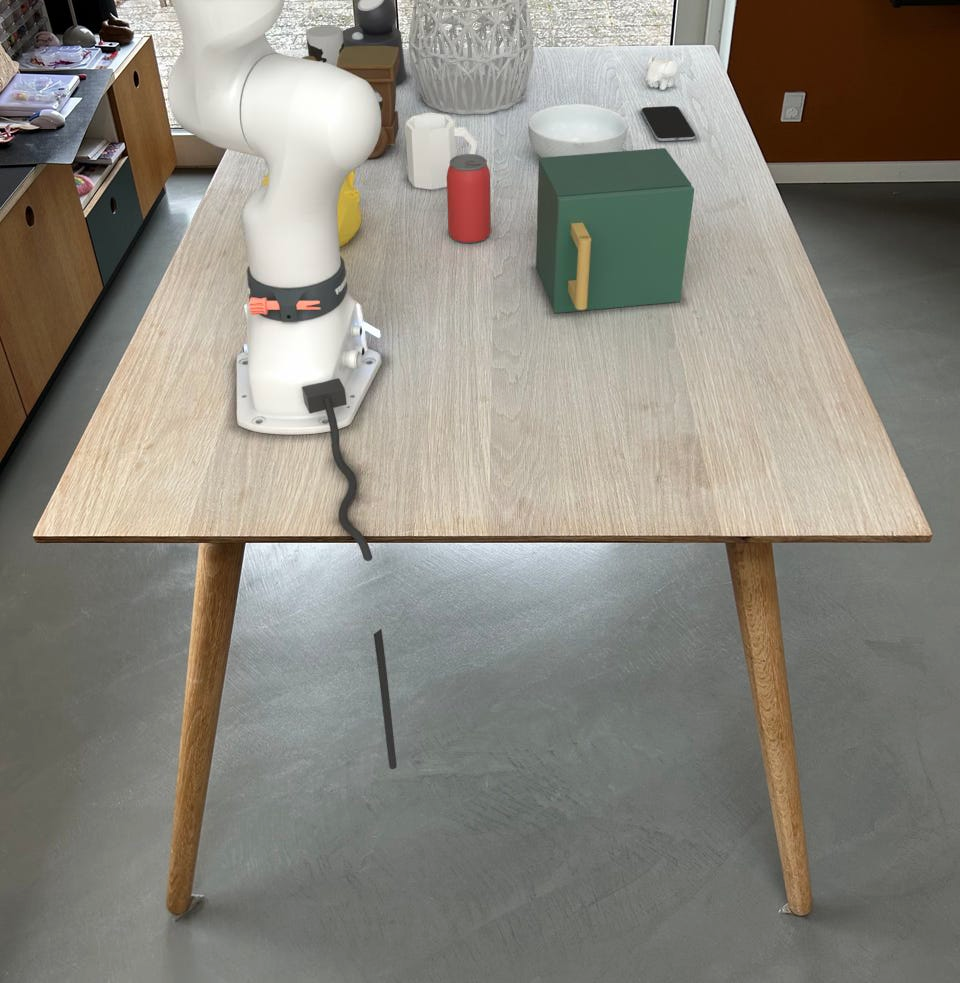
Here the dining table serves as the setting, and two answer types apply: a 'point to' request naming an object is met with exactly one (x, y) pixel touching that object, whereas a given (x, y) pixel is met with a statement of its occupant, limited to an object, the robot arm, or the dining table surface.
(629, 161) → the cupboard
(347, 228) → the teapot
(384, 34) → the light fixture
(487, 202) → the beer can
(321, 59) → the cup
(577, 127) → the cereal bowl
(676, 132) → the smartphone
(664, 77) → the elephant figurine
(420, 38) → the vase
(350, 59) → the wooden toy train
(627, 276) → the door
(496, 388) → the dining table surface
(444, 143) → the mug
